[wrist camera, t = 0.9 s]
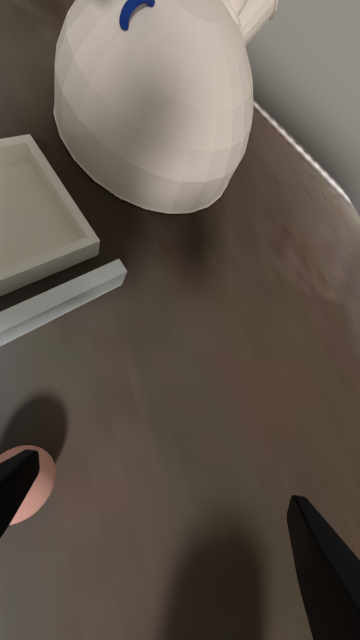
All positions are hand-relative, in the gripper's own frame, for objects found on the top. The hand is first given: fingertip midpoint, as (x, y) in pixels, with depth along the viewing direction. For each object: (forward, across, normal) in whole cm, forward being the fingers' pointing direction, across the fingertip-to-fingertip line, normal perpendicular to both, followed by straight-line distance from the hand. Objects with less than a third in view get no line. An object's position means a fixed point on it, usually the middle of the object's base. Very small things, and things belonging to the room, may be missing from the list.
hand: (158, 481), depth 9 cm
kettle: (+25, +7, -20) cm, 33 cm away
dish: (+12, +16, -9) cm, 22 cm away
